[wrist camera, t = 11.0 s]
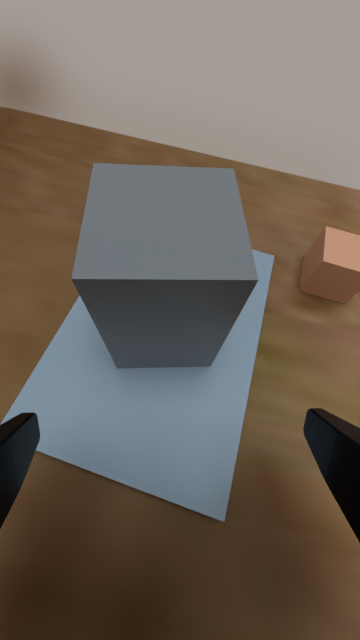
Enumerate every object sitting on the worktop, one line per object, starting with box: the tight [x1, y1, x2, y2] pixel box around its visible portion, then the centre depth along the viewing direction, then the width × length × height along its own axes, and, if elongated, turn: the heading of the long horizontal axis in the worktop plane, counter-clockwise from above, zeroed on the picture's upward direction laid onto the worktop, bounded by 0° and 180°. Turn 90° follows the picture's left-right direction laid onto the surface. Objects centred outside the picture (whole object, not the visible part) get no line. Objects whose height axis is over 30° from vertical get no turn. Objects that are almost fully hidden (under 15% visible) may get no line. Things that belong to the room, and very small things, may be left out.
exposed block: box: [299, 226, 360, 304], centre depth 22 cm, size 4×4×4 cm
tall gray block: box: [72, 163, 258, 368], centre depth 15 cm, size 6×6×10 cm
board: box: [1, 250, 274, 522], centre depth 20 cm, size 20×14×1 cm
